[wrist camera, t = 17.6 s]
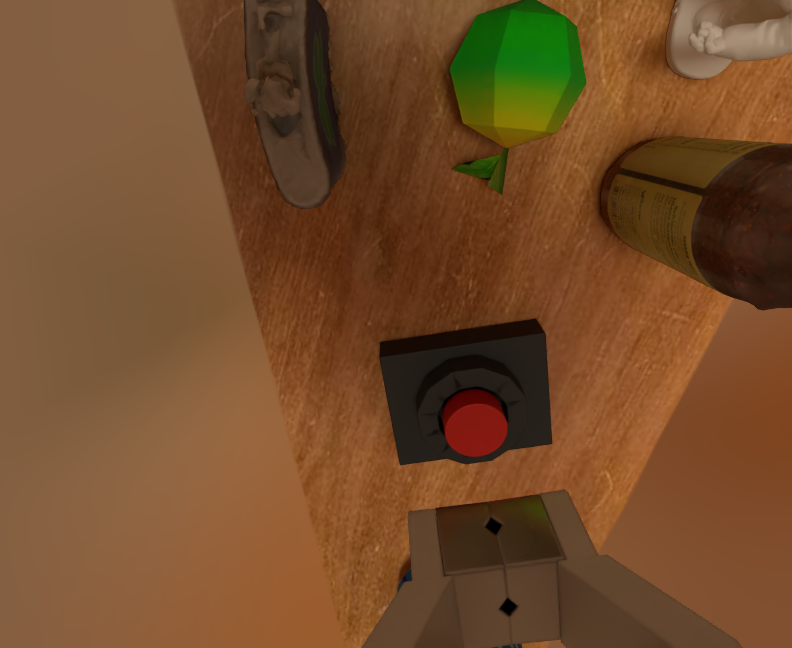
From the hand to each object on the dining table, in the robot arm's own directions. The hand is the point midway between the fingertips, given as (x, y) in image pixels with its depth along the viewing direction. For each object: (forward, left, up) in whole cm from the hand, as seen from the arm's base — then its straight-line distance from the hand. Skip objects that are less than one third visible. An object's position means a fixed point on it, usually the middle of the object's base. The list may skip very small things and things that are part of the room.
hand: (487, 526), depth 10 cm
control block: (+1, -11, -24) cm, 26 cm away
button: (+1, -10, -20) cm, 23 cm away
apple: (+5, +6, -24) cm, 26 cm away
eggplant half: (-5, +8, -24) cm, 26 cm away
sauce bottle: (+13, 0, -24) cm, 28 cm away
